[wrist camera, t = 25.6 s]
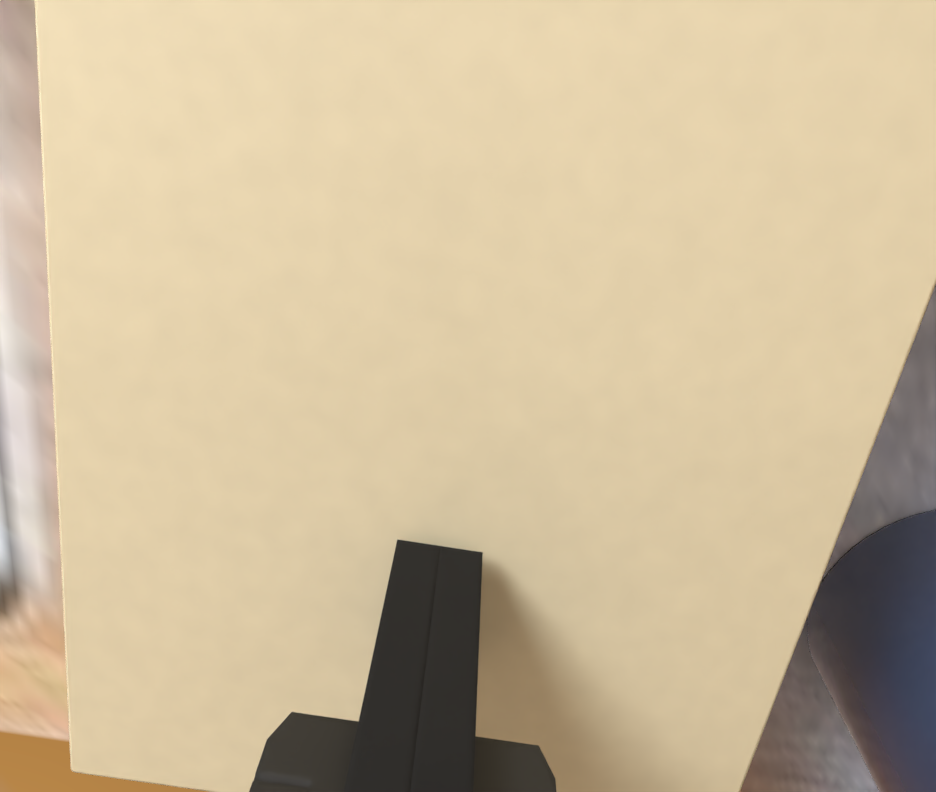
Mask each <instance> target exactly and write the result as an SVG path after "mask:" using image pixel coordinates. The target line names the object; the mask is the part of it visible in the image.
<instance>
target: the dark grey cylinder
mask: <svg viewBox="0 0 936 792" xmlns="http://www.w3.org/2000/svg"><path fill="white" fill-rule="evenodd" d="M807 639H808V644H809V650H810V653H811V656H812V659H813V661H814V664H815V666H816V668H817V670H818V672H819V674H820V676H821V678H822V679H823V681H824V683H825V685H826V687H827V689H828V691H829V693H830V695H831V697H832V699H833V701H834V703H835V705H836V707H837V709H838V711H839V713H840V715H841V717H842V719H843V721H844V723H845V725H846V727H847V729H848V731H849V733H850V735H851V737H852V739H853V741H854V743H855V745H856V747H857V749H858V751H859V753H860V755H861V757H862V759H863V761H864V763H865V765H866V766H867V768H868V770H869V772H870V774H871V776H872V778H873V780H874V782H875V784H876V786H877V788H878V790H879V792H936V510H934V511H929V512H925V513H920V514H917V515H914V516H911V517H908V518H905V519H902V520H900V521H897V522H895V523H893V524H891V525H888V526H886V527H884V528H882V529H880V530H879V531H877V532H875V533H874V534H872V535H870V536H868V537H867V538H865V539H864V540H863V541H861V542H860V543H859V544H857V545H856V546H854V547H853V548H852V549H851V550H850V551H849V552H848V553H846V554H845V555H844V556H843V557H842V558H841V559H840V560H839V561H838V562H837V563H836V565H835V566H834V567H833V568H832V569H831V570H830V571H829V573H828V574H827V576H826V577H825V579H824V580H823V582H822V583H821V585H820V587H819V589H818V591H817V593H816V596H815V598H814V601H813V604H812V606H811V609H810V612H809V618H808V624H807Z"/></svg>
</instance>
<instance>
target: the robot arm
mask: <svg viewBox="0 0 936 792" xmlns="http://www.w3.org/2000/svg"><path fill="white" fill-rule="evenodd" d="M482 557H483V552H477V551H471V550H464V549H457V548H451V547H444V546H438V545H431V544H424V543H418V542H411V541H405V540H398V539H397V543H396V548H395V553H394V557H393V562H392V567H391V572H390V576H389V581H388V586H387V590H386V595H385V600H384V604H383V609H382V614H381V619H380V623H379V628H378V633H377V637H376V642H375V647H374V652H373V656H372V661H371V666H370V670H369V675H368V680H367V684H366V689H365V694H364V699H363V703H362V708H361V713H360V717H359V722H358V721H352V720H345V719H338V718H331V717H324V716H317V715H310V714H303V713H297V712H291V713H290V714H289V715H288V716H287V718H286V719H285V720H284V721H283V722H282V723H281V724H280V725H279V726H278V728H277V729H276V730H275V731H274V732H273V733H272V734H271V735H270V736H269V738H268V739H267V741H266V744H265V747H264V749H263V752H262V755H261V758H260V761H259V764H258V767H257V770H256V773H255V778H254V781H253V782H252V785H251V788H250V791H249V792H556V779H555V777H554V775H553V773H552V771H551V769H550V767H549V765H548V763H547V761H546V759H545V757H544V755H543V753H542V751H541V749H540V747H539V745H532V744H525V743H518V742H511V741H504V740H497V739H491V738H484V737H477V736H475V735H476V709H477V684H478V658H479V633H480V608H481V582H482Z"/></svg>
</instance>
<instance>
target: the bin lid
mask: <svg viewBox="0 0 936 792" xmlns="http://www.w3.org/2000/svg"><path fill="white" fill-rule="evenodd" d="M35 18H36V39H37V60H38V82H39V103H40V124H41V145H42V166H43V188H44V209H45V230H46V251H47V273H48V294H49V315H50V336H51V358H52V379H53V400H54V421H55V442H56V464H57V485H58V506H59V527H60V549H61V570H62V591H63V612H64V633H65V655H66V676H67V697H68V718H69V740H70V761H71V770H72V771H73V772H77V773H84V774H90V775H97V776H104V777H111V778H119V779H126V780H132V781H139V782H146V783H153V784H160V785H168V786H175V787H181V788H188V789H196V790H203V791H210V792H249V791H250V788H251V785H252V782H253V781H254V778H255V773H256V770H257V767H258V764H259V761H260V758H261V755H262V752H263V749H264V747H265V744H266V741H267V739H268V738H269V736H270V735H271V734H272V733H273V732H274V731H275V730H276V729H277V728H278V726H279V725H280V724H281V723H282V722H283V721H284V720H285V719H286V718H287V716H288V715H289V714H290V713H291V712H297V713H303V714H310V715H317V716H324V717H331V718H338V719H345V720H352V721H358V722H359V717H360V713H361V708H362V703H363V699H364V694H365V689H366V684H367V680H368V675H369V670H370V666H371V661H372V656H373V652H374V647H375V642H376V637H377V633H378V628H379V623H380V619H381V614H382V609H383V604H384V600H385V595H386V590H387V586H388V581H389V576H390V572H391V567H392V562H393V557H394V553H395V548H396V543H397V539H398V540H405V541H411V542H418V543H424V544H431V545H438V546H444V547H451V548H457V549H464V550H471V551H477V552H483V557H482V582H481V608H480V633H479V658H478V684H477V709H476V735H475V736H477V737H484V738H491V739H497V740H504V741H511V742H518V743H525V744H532V745H539V747H540V749H541V751H542V753H543V755H544V757H545V759H546V761H547V763H548V765H549V767H550V769H551V771H552V773H553V775H554V777H555V779H556V792H740V790H741V788H742V785H743V782H744V780H745V777H746V775H747V772H748V769H749V767H750V764H751V762H752V759H753V756H754V754H755V751H756V749H757V746H758V744H759V741H760V738H761V736H762V733H763V731H764V728H765V725H766V723H767V720H768V718H769V715H770V712H771V710H772V707H773V705H774V702H775V699H776V697H777V694H778V692H779V689H780V687H781V684H782V681H783V679H784V676H785V674H786V671H787V668H788V666H789V663H790V661H791V658H792V655H793V653H794V650H795V648H796V645H797V642H798V640H799V637H800V635H801V632H802V630H803V627H804V624H805V622H806V619H807V617H808V614H809V611H810V609H811V606H812V604H813V601H814V598H815V596H816V593H817V591H818V588H819V585H820V583H821V580H822V578H823V575H824V573H825V570H826V567H827V565H828V562H829V560H830V557H831V554H832V552H833V549H834V547H835V544H836V541H837V539H838V536H839V534H840V531H841V528H842V526H843V523H844V521H845V518H846V516H847V513H848V510H849V508H850V505H851V503H852V500H853V497H854V495H855V492H856V490H857V487H858V484H859V482H860V479H861V477H862V474H863V471H864V469H865V466H866V464H867V461H868V459H869V456H870V453H871V451H872V448H873V446H874V443H875V440H876V438H877V435H878V433H879V430H880V427H881V425H882V422H883V420H884V417H885V414H886V412H887V409H888V407H889V404H890V402H891V399H892V396H893V394H894V391H895V389H896V386H897V383H898V381H899V378H900V376H901V373H902V370H903V368H904V365H905V363H906V360H907V357H908V355H909V352H910V350H911V347H912V344H913V342H914V339H915V337H916V334H917V332H918V329H919V326H920V324H921V321H922V319H923V316H924V313H925V311H926V308H927V306H928V303H929V300H930V298H931V295H932V293H933V290H934V287H935V285H936V0H35Z"/></svg>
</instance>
